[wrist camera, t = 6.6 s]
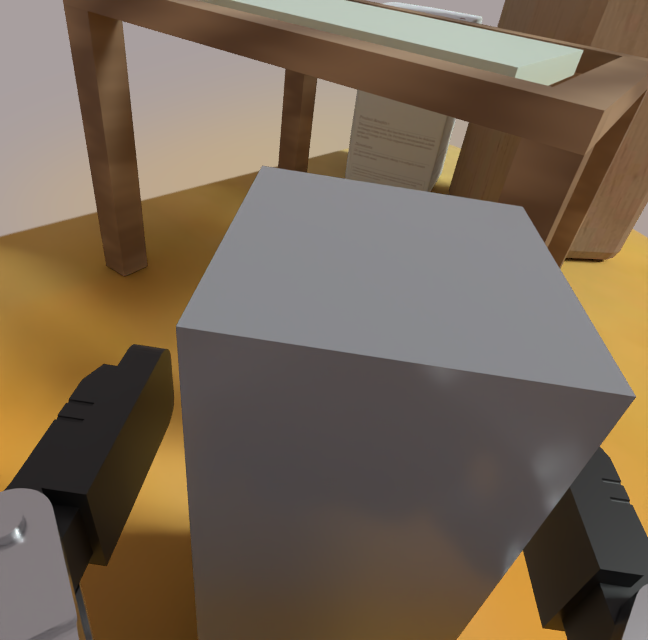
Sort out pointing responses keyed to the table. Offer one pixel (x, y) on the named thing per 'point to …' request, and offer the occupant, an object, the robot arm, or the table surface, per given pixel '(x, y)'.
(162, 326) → the table surface
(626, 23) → the wooden block
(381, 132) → the supplement box
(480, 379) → the basalt block
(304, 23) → the flap
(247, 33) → the stand
